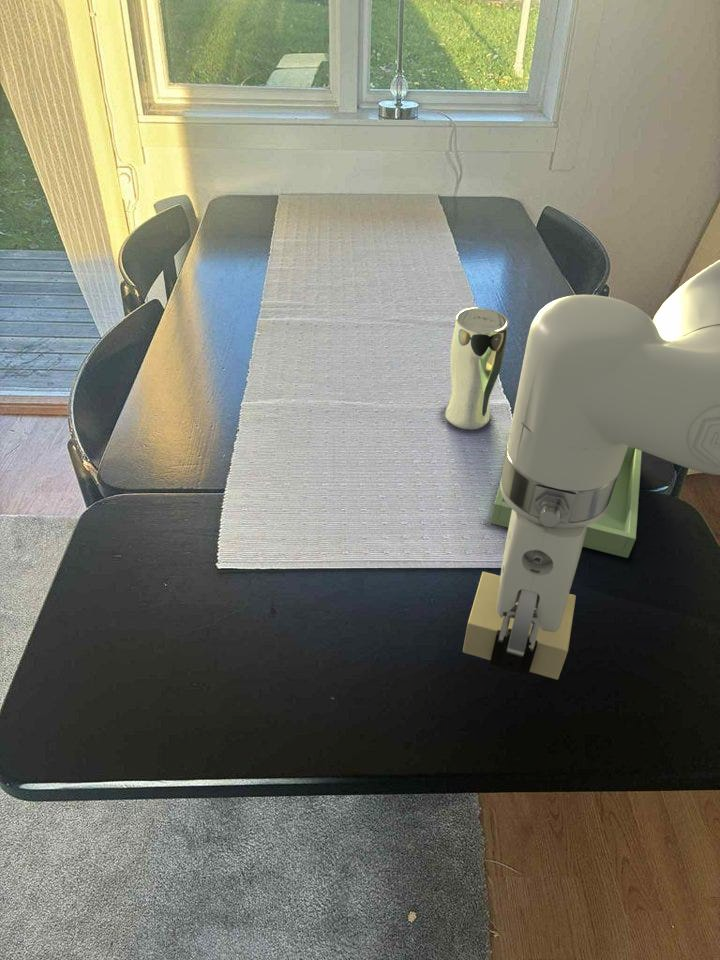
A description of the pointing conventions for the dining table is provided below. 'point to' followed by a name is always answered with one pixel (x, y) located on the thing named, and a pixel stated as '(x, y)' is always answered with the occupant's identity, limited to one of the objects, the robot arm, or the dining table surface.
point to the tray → (617, 522)
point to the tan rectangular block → (488, 622)
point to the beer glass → (475, 365)
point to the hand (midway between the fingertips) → (516, 633)
